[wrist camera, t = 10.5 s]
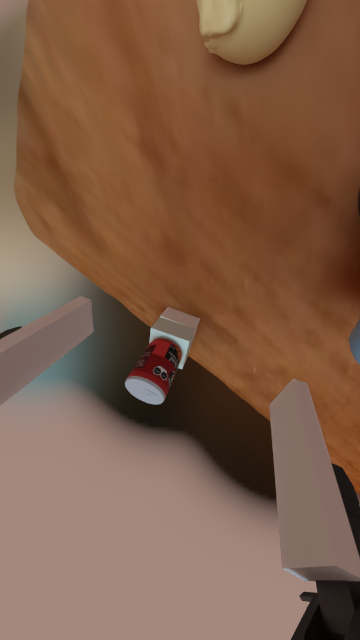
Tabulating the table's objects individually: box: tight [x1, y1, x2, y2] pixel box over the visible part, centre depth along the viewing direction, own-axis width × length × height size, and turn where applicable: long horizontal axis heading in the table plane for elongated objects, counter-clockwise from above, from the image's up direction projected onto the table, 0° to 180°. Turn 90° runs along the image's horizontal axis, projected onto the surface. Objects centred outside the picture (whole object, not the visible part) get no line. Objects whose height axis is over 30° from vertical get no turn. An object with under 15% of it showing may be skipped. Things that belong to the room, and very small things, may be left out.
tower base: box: [160, 307, 200, 347], centre depth 49 cm, size 9×9×5 cm
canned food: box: [125, 338, 182, 404], centre depth 38 cm, size 8×8×11 cm
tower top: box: [149, 317, 195, 369], centre depth 45 cm, size 9×9×5 cm
